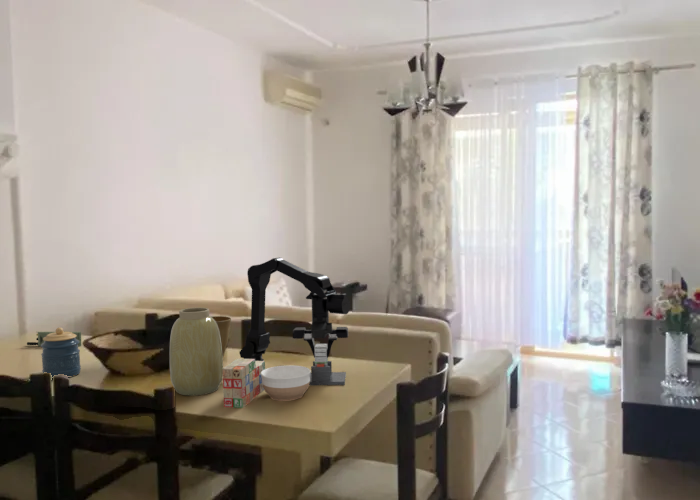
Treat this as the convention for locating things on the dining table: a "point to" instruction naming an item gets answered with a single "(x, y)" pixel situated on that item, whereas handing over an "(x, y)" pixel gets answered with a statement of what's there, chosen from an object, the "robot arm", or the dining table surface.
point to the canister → (61, 353)
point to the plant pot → (223, 330)
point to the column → (321, 354)
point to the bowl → (286, 382)
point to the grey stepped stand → (326, 375)
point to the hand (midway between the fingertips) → (321, 357)
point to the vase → (195, 353)
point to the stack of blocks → (242, 382)
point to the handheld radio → (44, 334)
